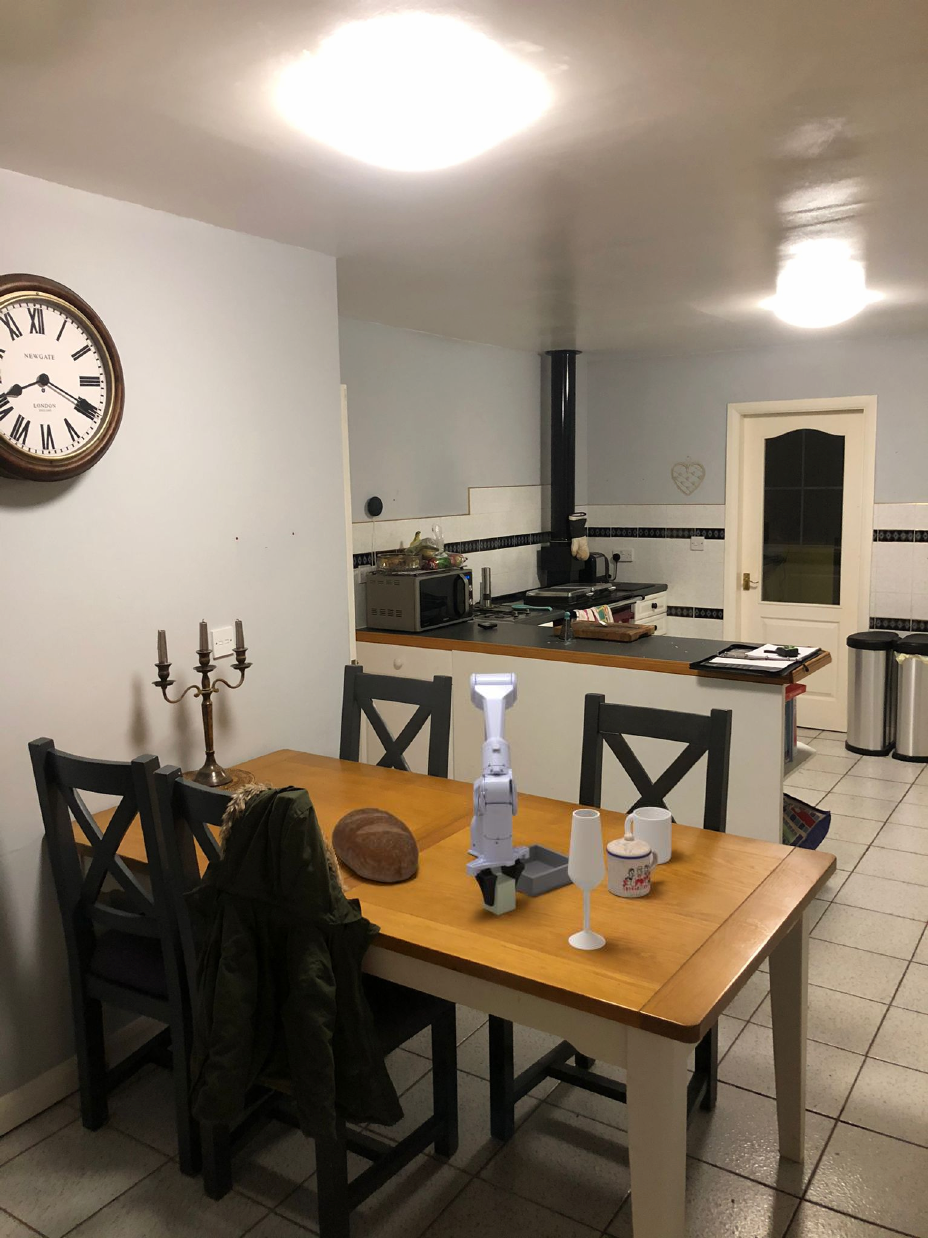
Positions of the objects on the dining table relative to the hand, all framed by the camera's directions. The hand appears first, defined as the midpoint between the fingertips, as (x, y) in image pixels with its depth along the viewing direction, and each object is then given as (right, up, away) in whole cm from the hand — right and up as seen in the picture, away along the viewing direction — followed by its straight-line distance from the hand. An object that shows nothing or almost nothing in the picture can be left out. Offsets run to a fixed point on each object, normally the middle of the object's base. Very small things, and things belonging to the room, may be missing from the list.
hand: (499, 901), depth 187 cm
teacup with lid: (+28, 0, +8) cm, 29 cm away
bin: (+8, +1, +14) cm, 16 cm away
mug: (+34, +2, +25) cm, 42 cm away
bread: (-27, +1, +26) cm, 37 cm away
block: (0, -1, 0) cm, 2 cm away
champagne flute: (+15, -3, -14) cm, 21 cm away
